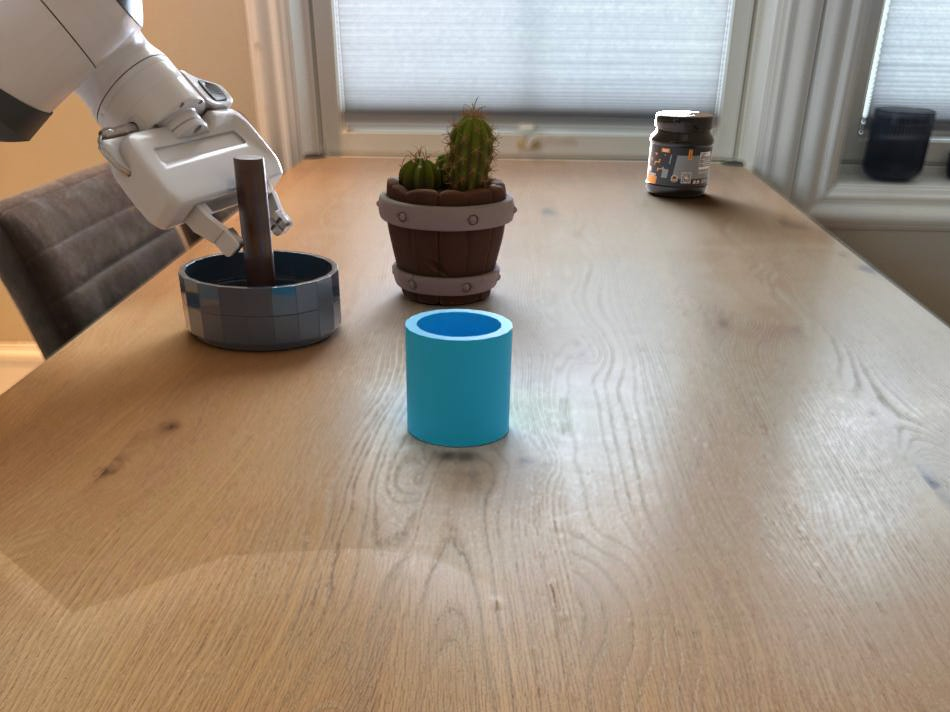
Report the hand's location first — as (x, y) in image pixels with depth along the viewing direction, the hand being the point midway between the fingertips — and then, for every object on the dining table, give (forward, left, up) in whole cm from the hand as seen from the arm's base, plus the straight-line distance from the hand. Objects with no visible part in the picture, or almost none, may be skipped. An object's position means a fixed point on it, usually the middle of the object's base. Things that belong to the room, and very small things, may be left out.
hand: (262, 240), depth 94 cm
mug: (+29, -2, -9) cm, 31 cm away
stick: (0, 0, -8) cm, 8 cm away
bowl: (-1, 0, -9) cm, 9 cm away
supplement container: (-21, +97, -9) cm, 99 cm away
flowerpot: (+1, +23, -9) cm, 24 cm away
